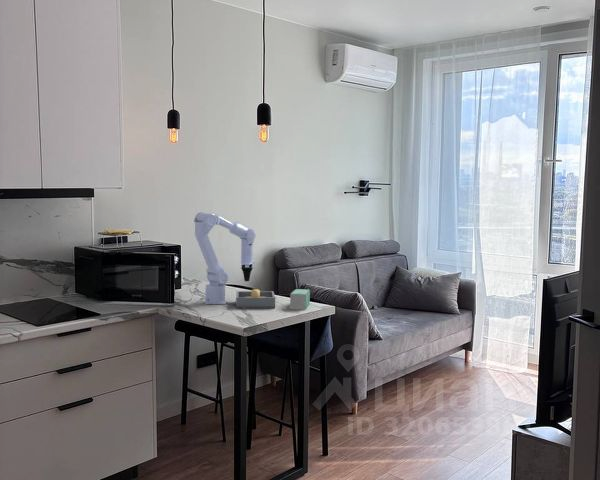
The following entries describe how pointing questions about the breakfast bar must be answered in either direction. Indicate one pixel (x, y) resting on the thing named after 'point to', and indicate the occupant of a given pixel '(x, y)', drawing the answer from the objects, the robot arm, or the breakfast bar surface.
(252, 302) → the crate
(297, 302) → the box
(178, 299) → the breakfast bar surface
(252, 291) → the peg
